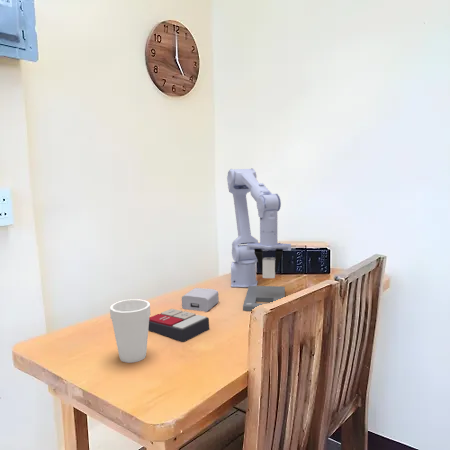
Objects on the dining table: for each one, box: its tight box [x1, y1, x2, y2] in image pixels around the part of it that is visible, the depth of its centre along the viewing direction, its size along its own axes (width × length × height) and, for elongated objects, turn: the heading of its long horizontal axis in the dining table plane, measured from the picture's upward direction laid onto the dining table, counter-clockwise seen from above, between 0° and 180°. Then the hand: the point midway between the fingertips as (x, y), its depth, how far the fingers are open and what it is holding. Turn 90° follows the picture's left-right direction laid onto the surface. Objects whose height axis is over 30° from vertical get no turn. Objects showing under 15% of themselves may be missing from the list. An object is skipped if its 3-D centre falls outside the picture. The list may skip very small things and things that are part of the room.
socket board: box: [242, 285, 286, 312], centre depth 141 cm, size 13×22×2 cm, turn 172°
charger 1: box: [181, 287, 219, 313], centre depth 139 cm, size 5×9×15 cm
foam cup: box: [109, 298, 151, 364], centre depth 101 cm, size 10×9×13 cm
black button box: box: [148, 308, 210, 343], centre depth 118 cm, size 11×4×15 cm
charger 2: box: [262, 257, 276, 279], centre depth 139 cm, size 4×4×6 cm
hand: (268, 271), depth 139 cm, fingers closed on charger 2, 4 cm apart
